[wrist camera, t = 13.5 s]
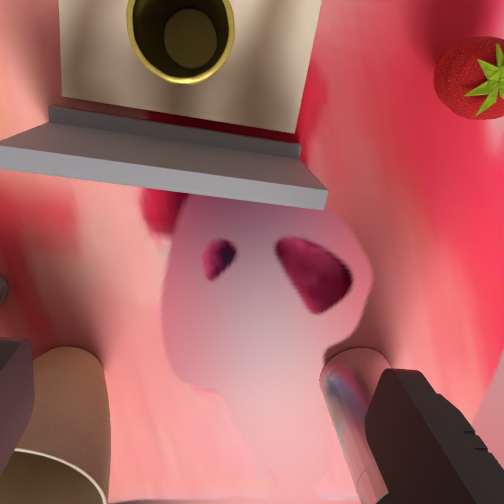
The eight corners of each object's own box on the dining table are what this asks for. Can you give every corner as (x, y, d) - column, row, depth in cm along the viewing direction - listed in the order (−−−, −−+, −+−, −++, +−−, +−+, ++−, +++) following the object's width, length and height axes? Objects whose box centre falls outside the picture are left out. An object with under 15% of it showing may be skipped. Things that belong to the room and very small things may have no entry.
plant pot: (-23, 380, 45) (-128, 528, 31) (47, 295, 41) (-37, 418, 27) (91, 433, 51) (46, 579, 37) (162, 362, 47) (142, 494, 33)
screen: (299, 143, 37) (333, 173, 27) (290, 184, 39) (319, 226, 29) (52, 105, 34) (-11, 123, 24) (54, 151, 35) (-4, 187, 25)
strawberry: (462, 122, 38) (541, 141, 29) (395, 96, 36) (457, 107, 27) (496, 58, 36) (593, 57, 27) (427, 27, 34) (506, 14, 25)
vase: (138, 50, 32) (92, 43, 19) (177, -24, 30) (156, -88, 17) (203, 96, 34) (201, 118, 21) (243, 30, 32) (269, 9, 19)
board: (323, -20, 32) (326, -23, 31) (292, 131, 37) (294, 133, 36) (60, -81, 28) (55, -86, 28) (65, 95, 33) (61, 96, 32)
